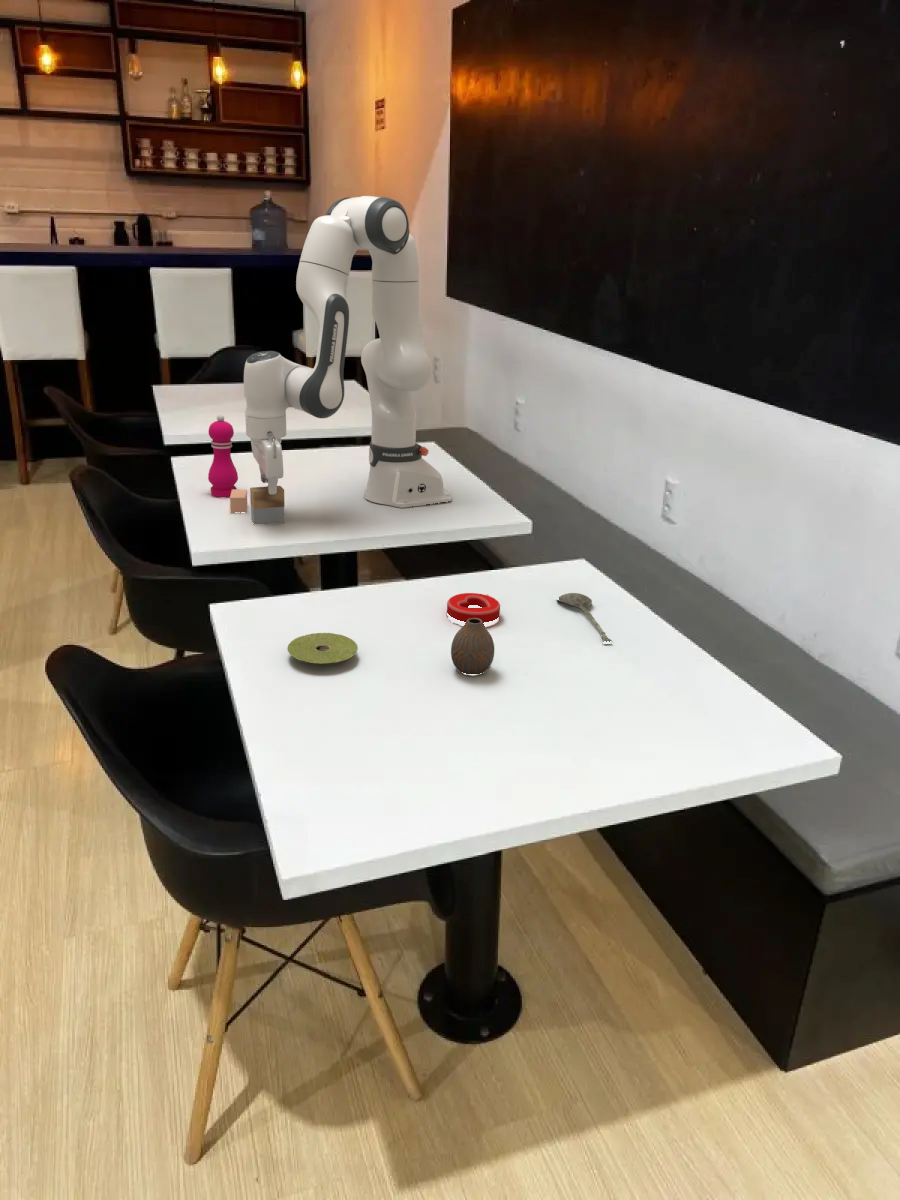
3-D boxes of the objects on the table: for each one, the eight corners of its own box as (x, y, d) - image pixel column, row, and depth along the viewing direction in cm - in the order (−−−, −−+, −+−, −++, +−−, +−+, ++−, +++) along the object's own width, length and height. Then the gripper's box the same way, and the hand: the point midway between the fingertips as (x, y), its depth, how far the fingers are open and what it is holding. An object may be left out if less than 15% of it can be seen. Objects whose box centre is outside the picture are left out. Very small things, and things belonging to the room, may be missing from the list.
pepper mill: (234, 499, 226) (231, 418, 219) (205, 497, 226) (201, 416, 219) (241, 491, 233) (238, 412, 225) (213, 489, 233) (209, 411, 225)
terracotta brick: (232, 505, 222) (231, 489, 221) (247, 505, 223) (246, 489, 221) (230, 514, 216) (230, 497, 214) (245, 514, 216) (245, 497, 215)
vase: (443, 663, 149) (446, 614, 145) (482, 658, 151) (486, 610, 148) (459, 682, 143) (462, 631, 139) (499, 677, 145) (503, 627, 142)
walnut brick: (280, 502, 213) (280, 485, 211) (284, 506, 210) (284, 489, 208) (250, 504, 210) (250, 487, 208) (254, 508, 207) (253, 491, 205)
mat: (371, 654, 150) (371, 644, 149) (329, 680, 141) (329, 669, 140) (316, 637, 155) (316, 626, 155) (273, 661, 146) (272, 650, 145)
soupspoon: (583, 601, 180) (551, 603, 178) (584, 585, 178) (552, 587, 177) (624, 646, 159) (588, 649, 158) (625, 628, 158) (589, 631, 157)
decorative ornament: (497, 631, 162) (498, 615, 161) (443, 626, 163) (444, 609, 162) (500, 610, 171) (502, 594, 170) (449, 605, 172) (450, 589, 171)
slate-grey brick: (281, 519, 214) (281, 502, 213) (284, 523, 211) (284, 506, 210) (251, 520, 212) (250, 504, 210) (253, 525, 209) (253, 508, 207)
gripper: (289, 437, 195) (291, 499, 201) (272, 417, 213) (274, 475, 218) (259, 438, 193) (262, 501, 198) (245, 418, 211) (248, 476, 216)
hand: (268, 487), depth 208 cm, fingers open, 8 cm apart
